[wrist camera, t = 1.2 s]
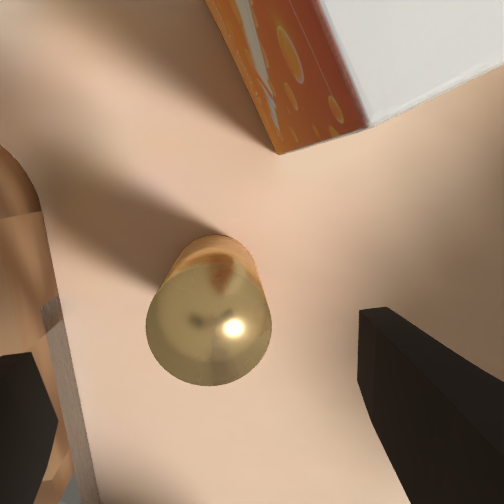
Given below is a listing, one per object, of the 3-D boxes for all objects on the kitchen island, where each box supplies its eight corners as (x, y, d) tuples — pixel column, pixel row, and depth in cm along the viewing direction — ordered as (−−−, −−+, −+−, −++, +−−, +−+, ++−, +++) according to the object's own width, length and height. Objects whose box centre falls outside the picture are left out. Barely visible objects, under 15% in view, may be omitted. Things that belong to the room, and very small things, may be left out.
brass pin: (260, 310, 21) (277, 377, 14) (179, 320, 21) (156, 393, 14) (252, 230, 20) (265, 259, 13) (168, 240, 20) (136, 274, 13)
